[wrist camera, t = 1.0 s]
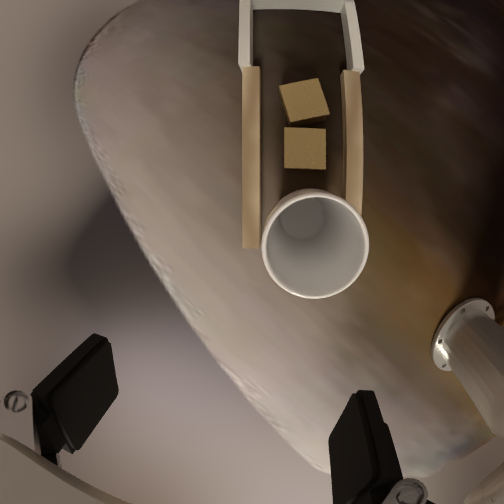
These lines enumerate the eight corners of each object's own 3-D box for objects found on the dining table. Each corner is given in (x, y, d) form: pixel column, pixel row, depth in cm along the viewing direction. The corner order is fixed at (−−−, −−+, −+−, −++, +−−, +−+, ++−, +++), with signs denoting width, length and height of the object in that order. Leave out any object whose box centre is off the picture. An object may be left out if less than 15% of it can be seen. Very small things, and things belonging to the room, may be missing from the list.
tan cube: (314, 89, 27) (317, 78, 23) (324, 121, 28) (329, 114, 24) (279, 96, 28) (278, 85, 24) (289, 128, 28) (290, 122, 25)
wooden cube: (320, 134, 28) (325, 129, 24) (320, 170, 29) (325, 169, 25) (284, 133, 29) (284, 127, 25) (284, 168, 30) (284, 167, 26)
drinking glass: (278, 249, 32) (273, 309, 18) (264, 191, 30) (247, 204, 16) (336, 237, 31) (376, 288, 17) (324, 178, 29) (361, 181, 15)
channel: (355, 77, 26) (359, 71, 24) (354, 247, 31) (358, 251, 29) (245, 72, 27) (242, 66, 25) (245, 243, 32) (242, 247, 30)
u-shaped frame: (348, 7, 23) (353, -4, 20) (357, 77, 26) (364, 69, 23) (243, 3, 24) (239, -9, 21) (242, 73, 27) (238, 63, 24)
